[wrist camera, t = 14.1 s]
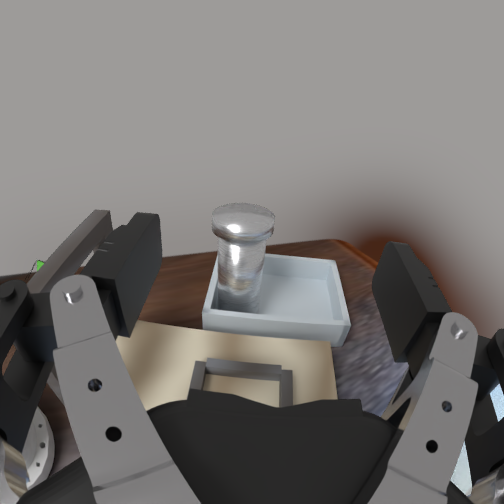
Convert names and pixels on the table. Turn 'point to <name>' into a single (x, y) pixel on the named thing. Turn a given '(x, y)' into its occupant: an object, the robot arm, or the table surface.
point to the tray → (287, 303)
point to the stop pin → (241, 254)
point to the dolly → (197, 347)
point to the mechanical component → (38, 449)
